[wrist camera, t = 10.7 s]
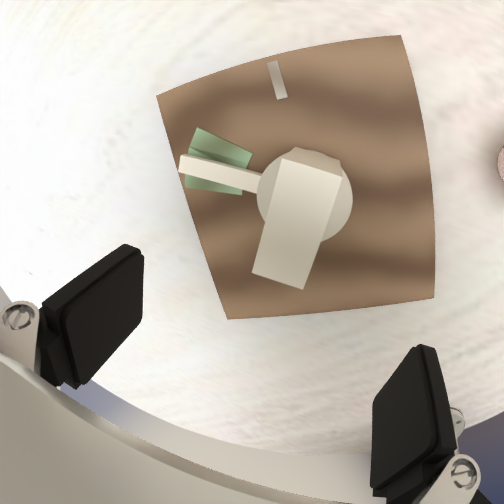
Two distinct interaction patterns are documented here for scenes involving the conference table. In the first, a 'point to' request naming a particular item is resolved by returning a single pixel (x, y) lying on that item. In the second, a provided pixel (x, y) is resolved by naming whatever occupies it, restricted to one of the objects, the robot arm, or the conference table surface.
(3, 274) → the conference table surface
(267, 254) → the peg knob
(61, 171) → the conference table surface
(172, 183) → the conference table surface
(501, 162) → the smoothie
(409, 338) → the conference table surface
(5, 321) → the robot arm
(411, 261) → the dial board
